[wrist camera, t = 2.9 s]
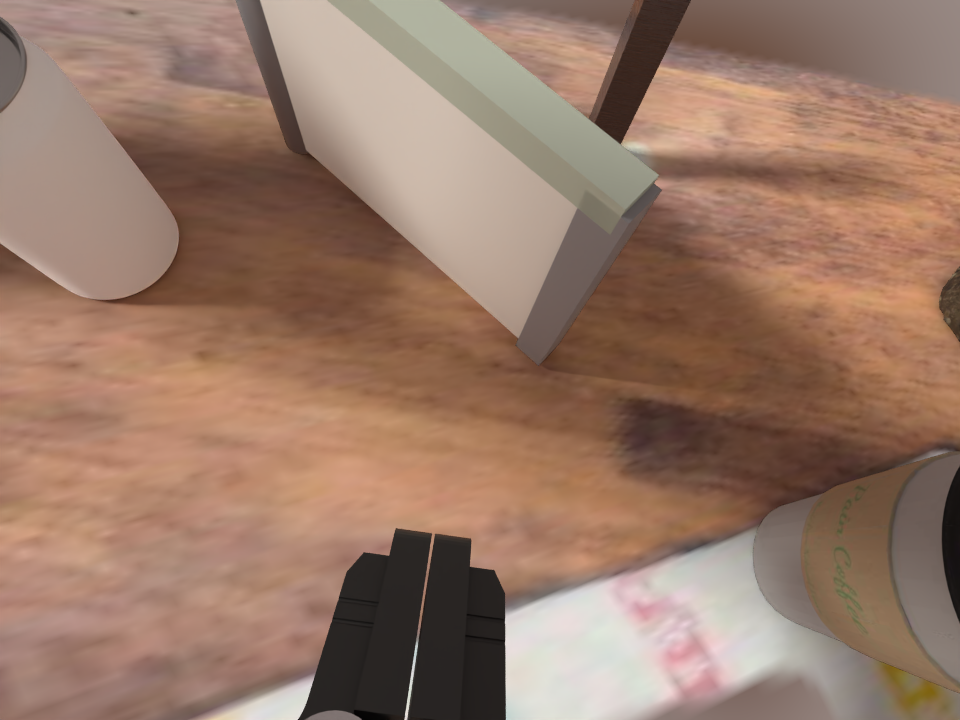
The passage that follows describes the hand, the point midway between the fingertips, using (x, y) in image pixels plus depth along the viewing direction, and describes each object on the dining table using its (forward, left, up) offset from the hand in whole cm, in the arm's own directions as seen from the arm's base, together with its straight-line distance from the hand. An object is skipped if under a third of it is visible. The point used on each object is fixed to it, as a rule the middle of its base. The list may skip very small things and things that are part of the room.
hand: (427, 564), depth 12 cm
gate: (-3, +16, -16) cm, 23 cm away
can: (-18, +13, -17) cm, 28 cm away
